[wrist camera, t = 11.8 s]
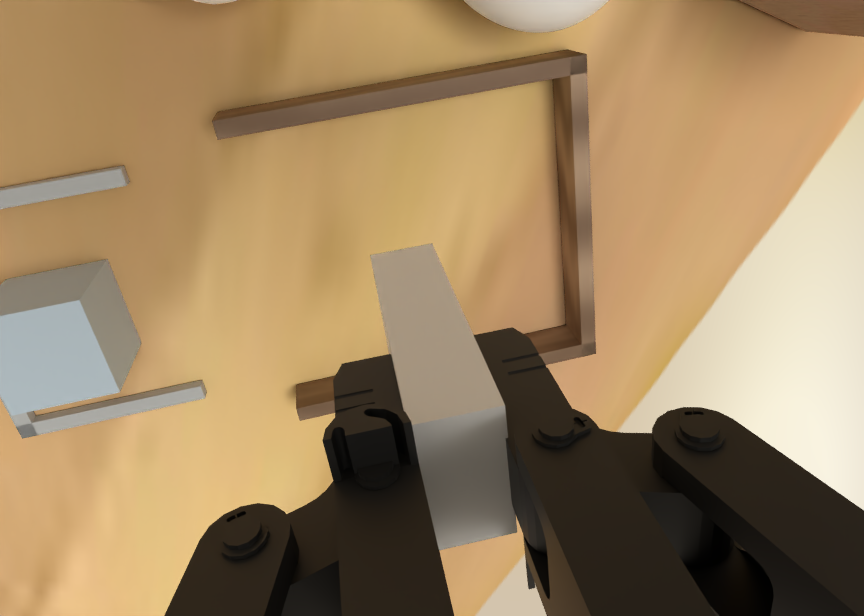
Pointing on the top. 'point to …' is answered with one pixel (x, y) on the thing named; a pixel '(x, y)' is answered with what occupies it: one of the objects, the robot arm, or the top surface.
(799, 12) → the wooden block
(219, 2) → the white lobed knot
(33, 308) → the cube
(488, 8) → the ornament
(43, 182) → the corral
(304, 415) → the brown flat u-shaped frame
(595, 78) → the top surface
